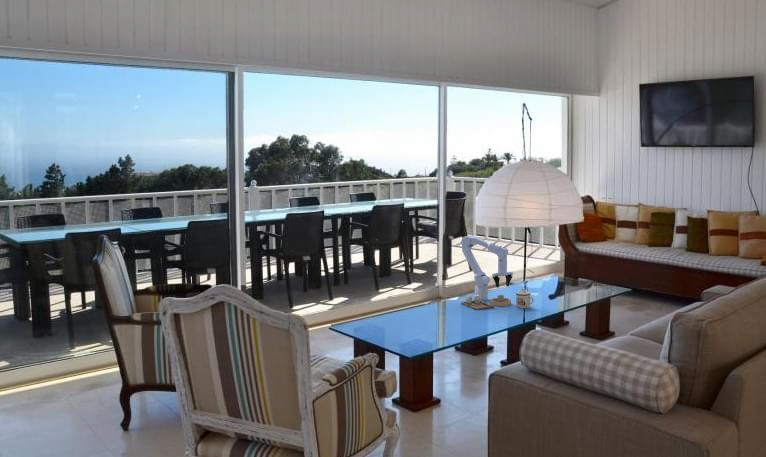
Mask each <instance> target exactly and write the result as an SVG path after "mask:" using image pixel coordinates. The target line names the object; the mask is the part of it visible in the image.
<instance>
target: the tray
mask: <svg viewBox="0 0 766 457" xmlns="http://www.w3.org/2000/svg"><path fill="white" fill-rule="evenodd" d="M460 305H463V306H465V307H467V308H470V309H473V310H475V311H480V310H482V311H483V310H488V309H489V310H490V309H495V306H493V305H491V304H490V303H487V302H484V301H483V300H480V304H479V305H476V304H474V300H472V305H468V304H466V301H461V302H460Z"/></svg>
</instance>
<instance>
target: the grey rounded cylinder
mask: <svg viewBox="0 0 766 457" xmlns="http://www.w3.org/2000/svg"><path fill="white" fill-rule="evenodd" d="M496 298H497V302H504V298H505V295H504V294H498V295H497V297H496Z"/></svg>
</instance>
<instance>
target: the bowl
mask: <svg viewBox="0 0 766 457" xmlns="http://www.w3.org/2000/svg"><path fill="white" fill-rule="evenodd" d="M489 304H490V305H492V306H494V307H508V306H511V305H512V299H510V298H507V297H504V302H497V297H492V298H490V299H489Z"/></svg>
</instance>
